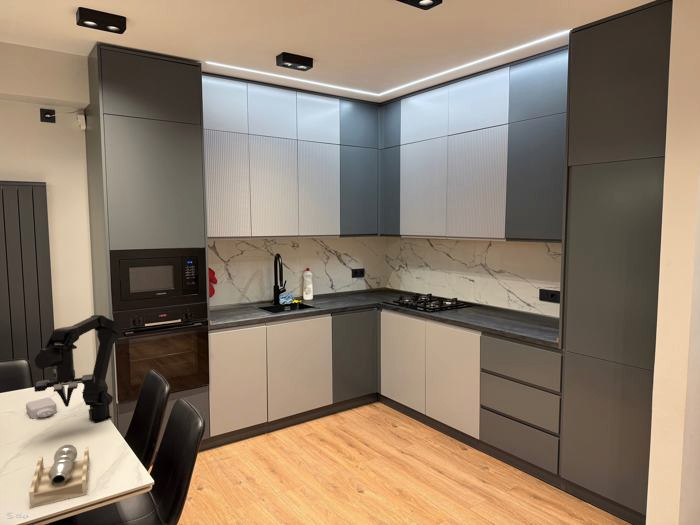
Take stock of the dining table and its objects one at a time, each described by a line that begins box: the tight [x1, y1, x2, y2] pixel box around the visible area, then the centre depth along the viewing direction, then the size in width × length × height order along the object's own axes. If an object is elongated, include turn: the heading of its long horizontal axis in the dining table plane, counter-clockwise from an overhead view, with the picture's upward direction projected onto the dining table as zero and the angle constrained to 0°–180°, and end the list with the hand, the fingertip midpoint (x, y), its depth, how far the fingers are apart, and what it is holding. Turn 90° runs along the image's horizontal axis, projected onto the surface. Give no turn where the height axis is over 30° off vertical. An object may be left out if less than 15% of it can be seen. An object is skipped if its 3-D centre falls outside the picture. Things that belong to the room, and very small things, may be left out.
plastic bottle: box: [48, 444, 78, 487], centre depth 156 cm, size 6×7×20 cm
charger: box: [25, 397, 58, 420], centre depth 206 cm, size 5×9×15 cm
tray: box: [28, 446, 90, 509], centre depth 153 cm, size 23×14×4 cm, turn 26°
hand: (67, 406), depth 181 cm, fingers closed
